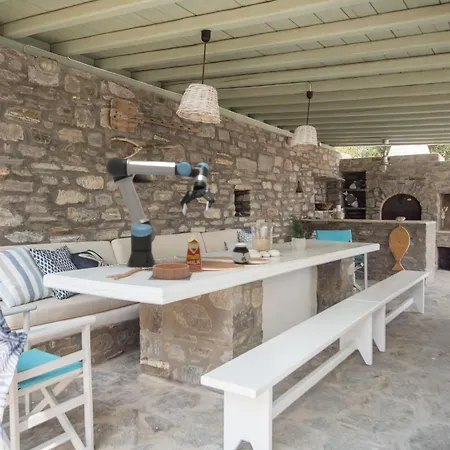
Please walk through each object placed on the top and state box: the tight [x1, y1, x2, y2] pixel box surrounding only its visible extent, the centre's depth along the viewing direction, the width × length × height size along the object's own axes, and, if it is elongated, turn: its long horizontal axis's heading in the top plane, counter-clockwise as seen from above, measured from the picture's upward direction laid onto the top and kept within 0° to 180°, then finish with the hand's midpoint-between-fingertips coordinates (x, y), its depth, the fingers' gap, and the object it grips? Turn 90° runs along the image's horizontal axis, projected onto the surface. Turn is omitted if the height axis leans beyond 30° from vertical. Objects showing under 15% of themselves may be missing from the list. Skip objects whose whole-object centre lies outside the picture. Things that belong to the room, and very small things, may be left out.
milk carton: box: [185, 233, 203, 274], centre depth 234 cm, size 9×9×20 cm
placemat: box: [147, 272, 193, 281], centre depth 220 cm, size 20×20×1 cm
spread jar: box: [232, 242, 251, 265], centre depth 268 cm, size 12×11×12 cm
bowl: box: [152, 262, 191, 281], centre depth 220 cm, size 18×18×5 cm
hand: (195, 213), depth 244 cm, fingers open, 13 cm apart
